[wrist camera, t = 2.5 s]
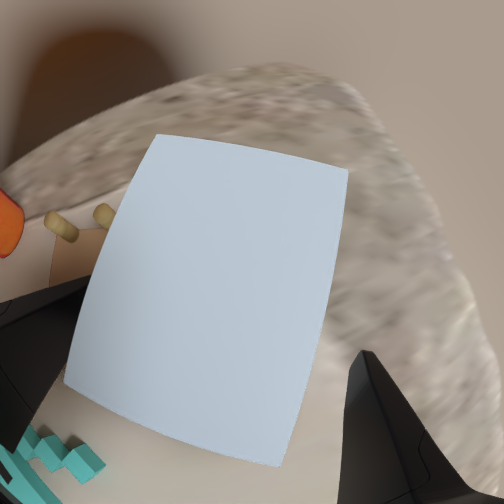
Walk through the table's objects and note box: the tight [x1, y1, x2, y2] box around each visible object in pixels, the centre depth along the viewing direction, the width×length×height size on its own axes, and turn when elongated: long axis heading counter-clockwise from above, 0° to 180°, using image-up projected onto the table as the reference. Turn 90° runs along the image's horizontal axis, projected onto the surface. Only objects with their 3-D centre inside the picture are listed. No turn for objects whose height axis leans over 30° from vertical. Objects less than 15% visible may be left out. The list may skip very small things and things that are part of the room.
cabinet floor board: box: [44, 203, 116, 369], centre depth 15 cm, size 10×8×4 cm
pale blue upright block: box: [63, 134, 349, 467], centre depth 11 cm, size 6×4×12 cm
